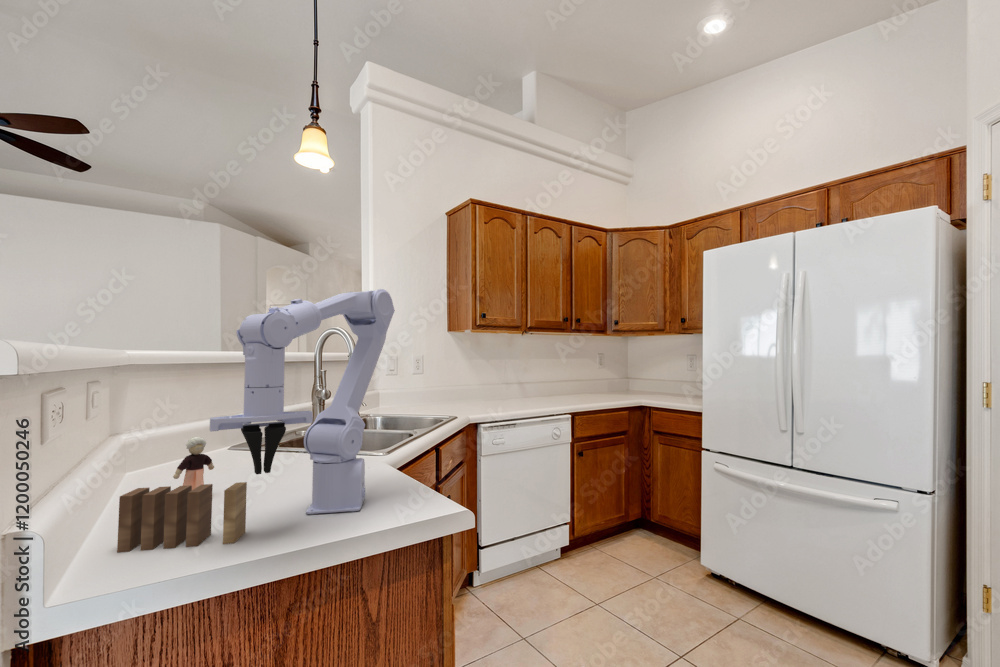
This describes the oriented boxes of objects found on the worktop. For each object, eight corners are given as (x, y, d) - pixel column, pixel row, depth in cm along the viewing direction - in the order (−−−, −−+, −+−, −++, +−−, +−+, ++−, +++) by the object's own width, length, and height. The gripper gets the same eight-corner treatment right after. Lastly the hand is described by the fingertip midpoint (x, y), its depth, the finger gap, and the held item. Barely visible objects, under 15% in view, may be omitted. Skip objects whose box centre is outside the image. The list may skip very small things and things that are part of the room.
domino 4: (210, 534, 71) (212, 484, 71) (197, 546, 67) (199, 491, 67) (199, 535, 71) (201, 484, 71) (185, 547, 66) (187, 492, 67)
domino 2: (168, 538, 70) (170, 486, 70) (152, 549, 65) (154, 494, 66) (157, 538, 70) (159, 486, 70) (140, 550, 65) (142, 495, 66)
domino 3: (190, 536, 70) (191, 485, 71) (175, 547, 66) (177, 493, 67) (178, 537, 70) (180, 485, 71) (163, 548, 66) (165, 493, 66)
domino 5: (245, 532, 72) (246, 482, 72) (234, 543, 68) (235, 489, 68) (234, 533, 72) (236, 482, 72) (222, 544, 67) (224, 490, 68)
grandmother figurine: (185, 507, 85) (188, 440, 85) (169, 506, 85) (171, 439, 86) (218, 495, 92) (220, 433, 93) (203, 494, 93) (205, 433, 94)
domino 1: (147, 539, 69) (149, 487, 70) (129, 551, 65) (131, 495, 65) (135, 540, 69) (138, 488, 69) (117, 552, 65) (119, 496, 65)
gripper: (306, 384, 79) (304, 461, 78) (209, 387, 71) (206, 474, 70) (316, 385, 74) (315, 469, 73) (212, 389, 65) (209, 484, 64)
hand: (262, 472), depth 71 cm, fingers closed
